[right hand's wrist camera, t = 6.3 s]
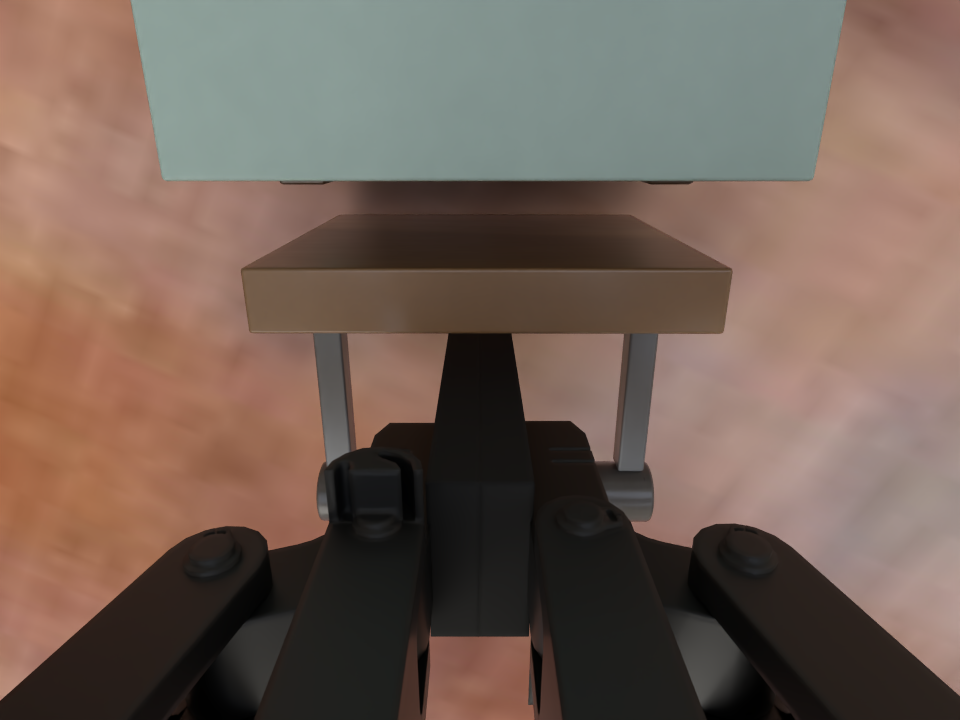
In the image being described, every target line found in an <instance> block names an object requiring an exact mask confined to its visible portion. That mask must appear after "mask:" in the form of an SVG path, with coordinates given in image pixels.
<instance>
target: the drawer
mask: <svg viewBox="0 0 960 720" xmlns="http://www.w3.org/2000/svg"><path fill="white" fill-rule="evenodd" d="M329 182H333V181H280V183H282V184H326V183H329ZM641 182H645V183H648V184H691V183H693V181H641ZM241 275H242V282H243V289H244V296H245V303H246V310H247V317H248V324H249V331H250V332H251V333H313V337H314V347H315V357H316V366H317V376H318V386H319V396H320V405H321V415H322V425H323V435H324V444H325V454H326V462H324V463H323V465H322V467H321V470H320V473H319V477H318V483H317V509H318V513H319V517H320V518H321V520H324V521H329V515H328V505H327V496H326V486H325V477H324V470H325V469H326V468H327V466H328V465H329V464H330V463H331V462H332V461H333V460H335V459H337V458H338V457H340V456H342V455H344V454H345V453H348V452H352V451H355V450H356V438H355V425H354V413H353V401H352V389H351V376H350V364H349V352H348V340H347V333H546V334H624V342H623V353H622V365H621V376H620V387H619V399H618V410H617V421H616V433H615V444H614V455H613V459H614V461H595V463H596V466H597V468H598V471H599V474H600V477H601V480H602V483H603V485H604V488H605V491H606V494H607V497H608V500H609V502H610V503H612V504H613V505H615V506H616V507H618V508H619V509H621V510H622V511H623V512H624V513H625V515H626V516H627V517H628V519H629V520H630V522H646V521H649V520H650V518H651V516H652V512H653V507H654V487H653V480H652V475H651V472H650V469H649V467H648V465H647V463H645V462H644V460H645V451H646V442H647V433H648V424H649V414H650V405H651V396H652V387H653V378H654V368H655V359H656V350H657V341H658V334H720V333H723V331H724V325H725V318H726V312H727V305H728V298H729V292H730V285H731V278H732V269H731V268H729V267H727V266H726V265H724V264H722V263H720V262H718V261H716V260H714V259H712V258H710V257H709V256H707V255H705V254H703V253H701V252H699V251H697V250H695V249H693V248H692V247H690V246H688V245H686V244H684V243H682V242H680V241H678V240H677V239H675V238H673V237H671V236H669V235H667V234H665V233H663V232H661V231H660V230H658V229H656V228H654V227H652V226H650V225H648V224H646V223H645V222H643V221H641V220H639V219H637V218H635V217H633V216H631V215H339V216H337V217H335V218H333V219H331V220H329V221H328V222H326V223H324V224H322V225H320V226H318V227H317V228H315V229H313V230H311V231H309V232H307V233H306V234H304V235H302V236H300V237H298V238H296V239H295V240H293V241H291V242H289V243H287V244H286V245H284V246H282V247H280V248H278V249H276V250H275V251H273V252H271V253H269V254H267V255H265V256H264V257H262V258H260V259H258V260H256V261H254V262H253V263H251V264H249V265H247V266H245V267H244V268H242V269H241Z"/></svg>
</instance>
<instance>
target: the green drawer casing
mask: <svg viewBox="0 0 960 720" xmlns="http://www.w3.org/2000/svg"><path fill="white" fill-rule="evenodd" d="M846 1H847V0H131V6H132V11H133V17H134V22H135V28H136V34H137V39H138V45H139V51H140V56H141V62H142V67H143V73H144V79H145V84H146V90H147V96H148V101H149V107H150V112H151V118H152V124H153V129H154V135H155V141H156V146H157V152H158V157H159V163H160V169H161V174H162V178H163V180H166V181H810V180H812V179H813V177H814V172H815V167H816V162H817V156H818V151H819V146H820V140H821V135H822V129H823V124H824V119H825V113H826V108H827V103H828V97H829V92H830V86H831V81H832V76H833V70H834V65H835V60H836V54H837V49H838V43H839V38H840V33H841V27H842V22H843V17H844V11H845V6H846Z"/></svg>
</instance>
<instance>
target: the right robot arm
mask: <svg viewBox="0 0 960 720" xmlns="http://www.w3.org/2000/svg"><path fill="white" fill-rule="evenodd" d="M324 477H325V486H326V496H327V505H328V515H329V525H328V527H327V530H326V533H325V535H323V536H321V537H318V538H316V539H314V540H312V541H308V542H305V543H301V544H298V545H293V546H288V547H284V548H279V549H274V550H269V551H268V545H267V540H266V539H265V538H264V537H263V536H262V535H261V534H260V533H259V532H258V531H255V530H252V529H249V528H246V527H233V526H225V527H219V528H213V529H209V530H205V531H203V532H200V533H198V534H195V535H193V536H190V537H188V538H186V539H184V540H183V541H181V542H180V543H178V544H177V545H175V546H174V547H173V548H171V549H170V550H168V551H167V552H166V553H165V554H164V555H163V556H162V557H161V558H159V559H158V560H157V561H156V562H155V563H154V564H153V565H152V566H151V567H149V568H148V569H147V570H146V571H145V572H144V573H143V574H142V575H140V576H139V577H138V578H137V579H136V580H135V581H134V582H133V583H132V584H130V585H129V586H128V587H127V588H126V589H125V590H124V591H123V592H121V593H120V594H119V595H118V596H117V597H116V598H115V599H114V600H113V601H111V602H110V603H109V604H108V605H107V606H106V607H105V608H104V609H102V610H101V611H100V612H99V613H98V614H97V615H96V616H95V617H93V618H92V619H91V620H90V621H89V622H88V623H87V624H86V625H85V626H83V627H82V628H81V629H80V630H79V631H78V632H77V633H76V634H74V635H73V636H72V637H71V638H70V639H69V640H68V641H67V642H66V643H64V644H63V645H62V646H61V647H60V648H59V649H58V650H57V651H55V652H54V653H53V654H52V655H51V656H50V657H49V658H48V659H47V660H45V661H44V662H43V663H42V664H41V665H40V666H39V667H38V668H36V669H35V670H34V671H33V672H32V673H31V674H30V675H29V676H27V677H26V678H25V679H24V680H23V681H22V682H21V683H20V684H19V685H17V686H16V687H15V688H14V689H13V690H12V691H11V692H10V693H8V694H7V695H6V696H5V697H4V698H3V699H2V700H1V701H0V720H425V718H426V707H427V696H428V685H429V674H430V649H429V636H430V626H431V636H529V623H530V633H531V649H530V674H529V700H528V705H533V706H534V717H535V720H960V696H959V695H958V694H957V693H955V692H954V691H953V690H952V689H951V688H950V687H949V686H948V685H946V684H945V683H944V682H943V681H942V680H941V679H940V678H939V677H937V676H936V675H935V674H934V673H933V672H932V671H931V670H930V669H928V668H927V667H926V666H925V665H924V664H923V663H922V662H921V661H919V660H918V659H917V658H916V657H915V656H914V655H913V654H912V653H910V652H909V651H908V650H907V649H906V648H905V647H904V646H902V645H901V644H900V643H899V642H898V641H897V640H896V639H895V638H893V637H892V636H891V635H890V634H889V633H888V632H887V631H886V630H884V629H883V628H882V627H881V626H880V625H879V624H878V623H877V622H875V621H874V620H873V619H872V618H871V617H870V616H869V615H868V614H866V613H865V612H864V611H863V610H862V609H861V608H860V607H858V606H857V605H856V604H855V603H854V602H853V601H852V600H851V599H849V598H848V597H847V596H846V595H845V594H844V593H843V592H842V591H840V590H839V589H838V588H837V587H836V586H835V585H834V584H833V583H831V582H830V581H829V580H828V579H827V578H826V577H825V576H824V575H822V574H821V573H820V572H819V571H818V570H817V569H816V568H815V567H813V566H812V565H811V564H810V563H809V562H808V561H807V560H805V559H804V558H803V557H802V556H801V555H800V554H799V553H798V552H796V551H795V550H794V549H793V548H792V547H791V546H789V545H788V544H786V543H785V542H783V541H782V540H780V539H779V538H777V537H776V536H774V535H772V534H769V533H767V532H764V531H762V530H760V529H757V528H754V527H750V526H744V525H739V524H715V525H712V526H709V527H706V528H703V529H701V530H700V531H699V533H698V534H697V535H696V536H695V537H694V539H693V545H692V548H689V547H684V546H679V545H674V544H670V543H665V542H661V541H657V540H654V539H650V538H647V537H645V536H643V535H641V534H638V533H636V532H634V529H633V527H632V524H631V522H630V520H629V519H628V517H627V516H626V515H625V513H624V512H623V511H622V510H621V509H619V508H618V507H616V506H615V505H613V504H612V503H610V502H609V500H608V497H607V494H606V491H605V488H604V485H603V483H602V480H601V477H600V474H599V471H598V468H597V466H596V463H595V460H594V457H593V454H592V451H590V446H589V443H588V440H587V437H586V434H585V433H584V432H583V431H582V430H580V429H579V428H578V427H577V426H576V425H574V424H573V423H572V422H571V421H525V418H524V411H523V405H522V399H521V392H520V386H519V379H518V373H517V367H516V360H515V354H514V348H513V341H512V335H511V333H449V335H448V341H447V348H446V354H445V360H444V367H443V373H442V380H441V386H440V392H439V399H438V405H437V411H436V418H435V423H389V424H388V425H387V426H386V427H384V428H383V429H382V430H381V431H380V432H378V433H377V434H376V435H375V437H374V439H373V442H372V445H371V448H362V449H359V450H355V451H352V452H348V453H345V454H344V455H342V456H340V457H338V458H337V459H335V460H333V461H332V462H331V463H330V464H329V465H328V466H327V468H326V469H325V470H324Z"/></svg>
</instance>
